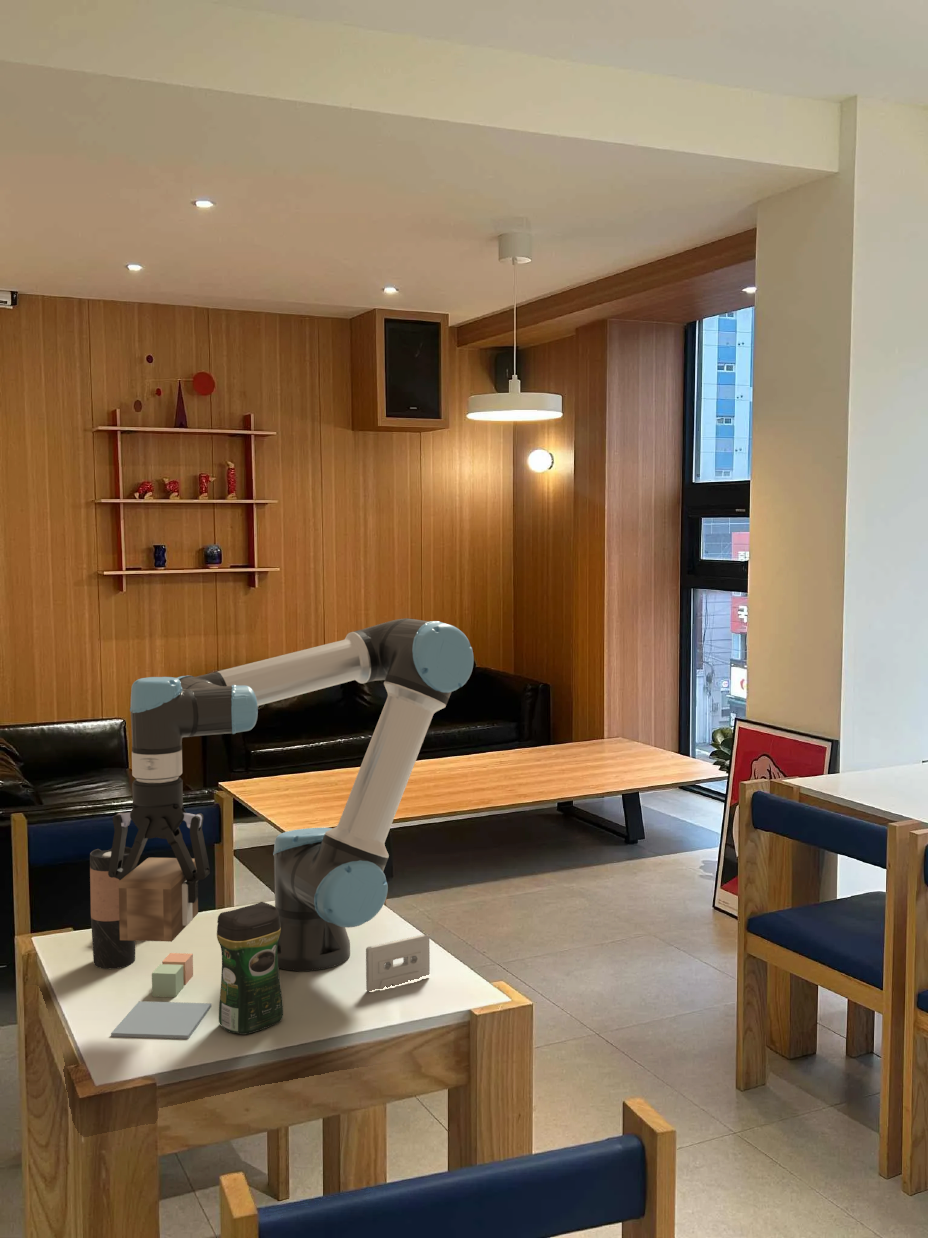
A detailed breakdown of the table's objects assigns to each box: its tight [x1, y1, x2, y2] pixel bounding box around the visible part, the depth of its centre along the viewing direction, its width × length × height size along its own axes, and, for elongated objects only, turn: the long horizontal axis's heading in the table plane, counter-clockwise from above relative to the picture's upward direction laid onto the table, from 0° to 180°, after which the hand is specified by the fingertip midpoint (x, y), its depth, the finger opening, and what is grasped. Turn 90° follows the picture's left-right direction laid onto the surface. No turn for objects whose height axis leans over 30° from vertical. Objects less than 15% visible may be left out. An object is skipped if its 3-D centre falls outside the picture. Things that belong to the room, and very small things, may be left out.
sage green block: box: [151, 963, 185, 998], centre depth 192 cm, size 4×4×4 cm
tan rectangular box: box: [119, 857, 199, 943], centre depth 179 cm, size 8×13×9 cm, turn 176°
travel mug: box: [89, 846, 136, 970], centre depth 205 cm, size 8×8×20 cm
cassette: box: [365, 933, 431, 992], centre depth 195 cm, size 12×2×8 cm, turn 123°
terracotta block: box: [161, 952, 194, 986], centre depth 197 cm, size 4×4×4 cm
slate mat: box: [110, 1000, 212, 1040], centre depth 181 cm, size 12×12×1 cm
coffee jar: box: [216, 901, 284, 1035], centre depth 179 cm, size 10×8×19 cm
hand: (160, 921), depth 180 cm, fingers closed on tan rectangular box, 8 cm apart
